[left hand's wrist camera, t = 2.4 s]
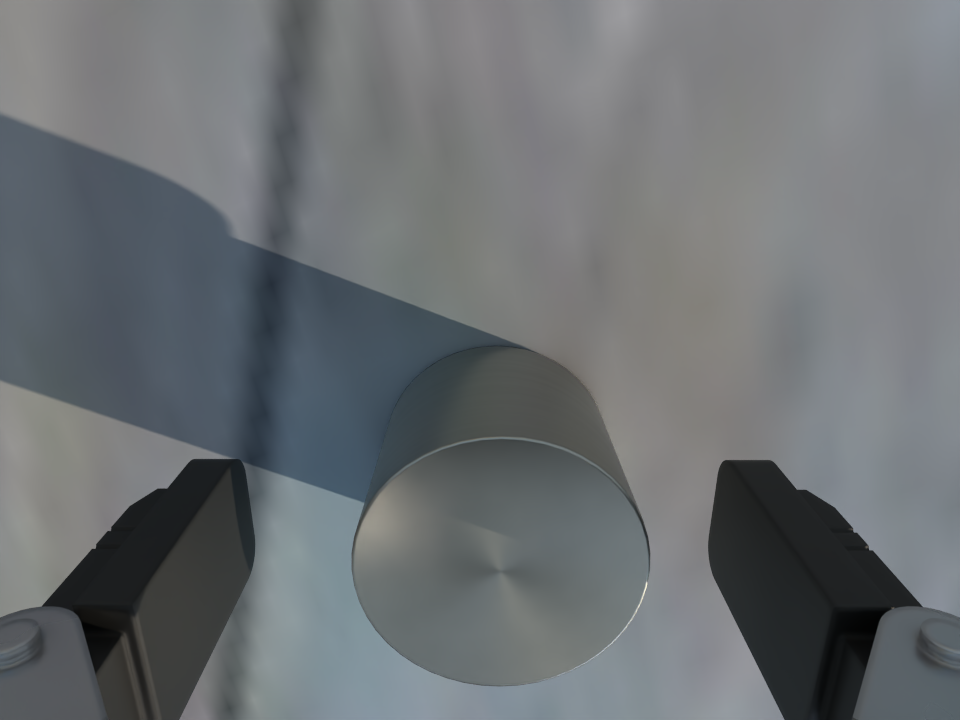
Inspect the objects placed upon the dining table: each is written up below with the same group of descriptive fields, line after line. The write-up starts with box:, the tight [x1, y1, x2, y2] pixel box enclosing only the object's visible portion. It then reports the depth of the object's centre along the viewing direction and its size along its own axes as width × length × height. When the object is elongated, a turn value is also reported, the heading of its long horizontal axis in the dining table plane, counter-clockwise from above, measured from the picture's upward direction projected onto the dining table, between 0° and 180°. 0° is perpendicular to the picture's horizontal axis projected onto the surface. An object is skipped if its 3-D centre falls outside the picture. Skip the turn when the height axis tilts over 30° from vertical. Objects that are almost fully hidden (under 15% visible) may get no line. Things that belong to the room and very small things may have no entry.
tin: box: [352, 346, 650, 686], centre depth 12 cm, size 5×5×4 cm
